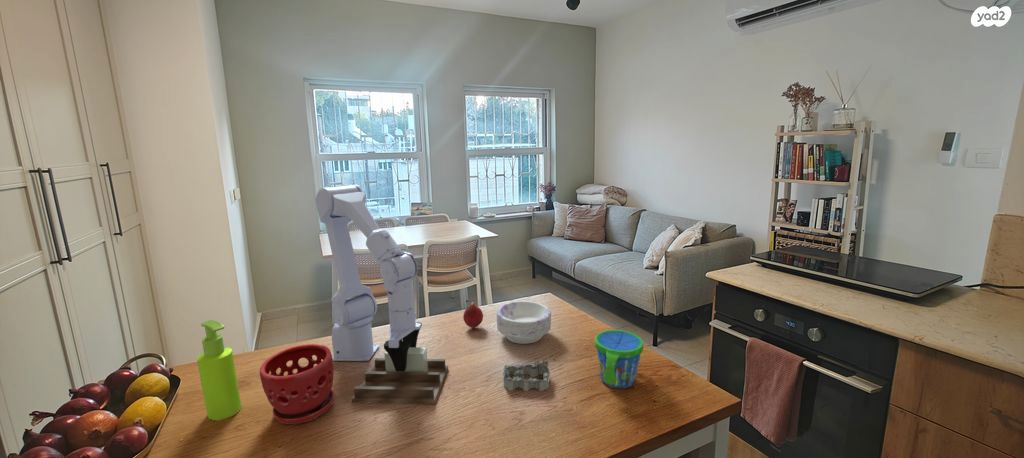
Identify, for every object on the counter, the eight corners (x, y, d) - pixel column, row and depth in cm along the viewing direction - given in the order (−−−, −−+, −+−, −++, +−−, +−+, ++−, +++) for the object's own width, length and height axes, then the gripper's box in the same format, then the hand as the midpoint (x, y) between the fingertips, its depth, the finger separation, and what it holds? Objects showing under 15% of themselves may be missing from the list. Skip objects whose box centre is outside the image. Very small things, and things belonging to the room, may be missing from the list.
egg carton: (550, 375, 101) (550, 359, 100) (549, 394, 93) (549, 377, 92) (505, 373, 102) (505, 357, 101) (501, 391, 94) (500, 374, 94)
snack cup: (629, 406, 88) (631, 361, 86) (582, 390, 94) (582, 348, 92) (650, 371, 101) (652, 332, 99) (607, 360, 107) (608, 322, 105)
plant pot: (289, 392, 95) (282, 343, 93) (347, 392, 95) (342, 343, 92) (252, 431, 82) (243, 375, 80) (319, 432, 82) (312, 375, 79)
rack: (351, 402, 91) (350, 390, 90) (375, 368, 105) (374, 357, 104) (434, 404, 90) (434, 391, 89) (448, 369, 104) (447, 357, 103)
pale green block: (386, 377, 99) (384, 353, 97) (390, 370, 102) (388, 347, 100) (424, 377, 98) (423, 353, 97) (427, 370, 101) (426, 347, 100)
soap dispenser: (218, 426, 84) (201, 332, 80) (202, 414, 88) (185, 324, 84) (249, 410, 89) (235, 320, 85) (232, 400, 93) (218, 314, 88)
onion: (482, 332, 123) (481, 306, 121) (462, 332, 123) (461, 306, 121) (484, 324, 129) (483, 299, 127) (465, 324, 129) (464, 299, 127)
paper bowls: (553, 349, 113) (553, 321, 111) (495, 349, 113) (495, 321, 111) (548, 324, 127) (548, 299, 126) (498, 325, 128) (497, 300, 126)
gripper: (409, 320, 89) (414, 379, 92) (427, 295, 103) (430, 347, 106) (376, 320, 90) (382, 378, 92) (398, 295, 104) (402, 346, 107)
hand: (405, 361), depth 99 cm, fingers open, 7 cm apart
